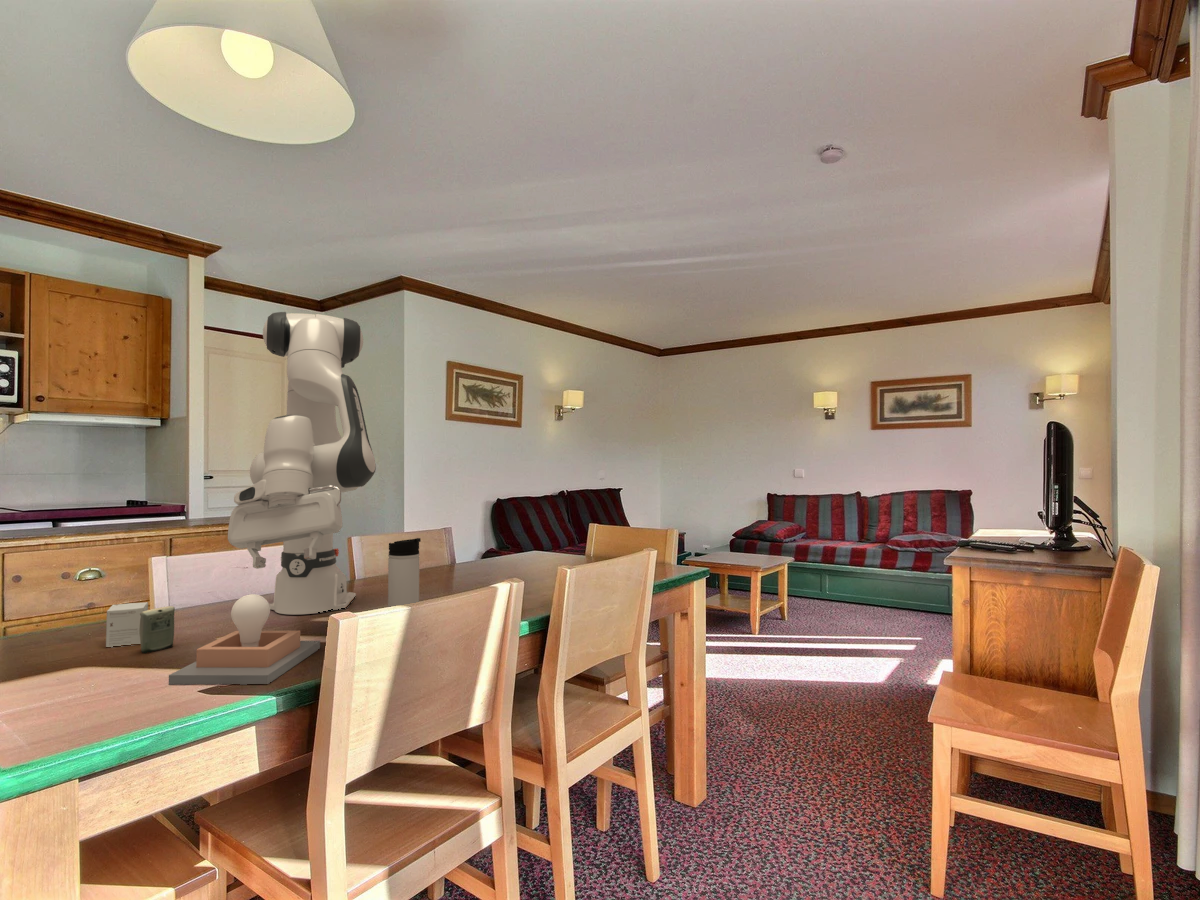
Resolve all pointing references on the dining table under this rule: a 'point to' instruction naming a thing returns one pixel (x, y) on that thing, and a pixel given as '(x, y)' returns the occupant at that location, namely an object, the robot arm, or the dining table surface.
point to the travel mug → (403, 572)
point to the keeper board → (246, 659)
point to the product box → (124, 624)
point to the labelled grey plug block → (157, 629)
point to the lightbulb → (250, 618)
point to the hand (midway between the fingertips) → (284, 563)
